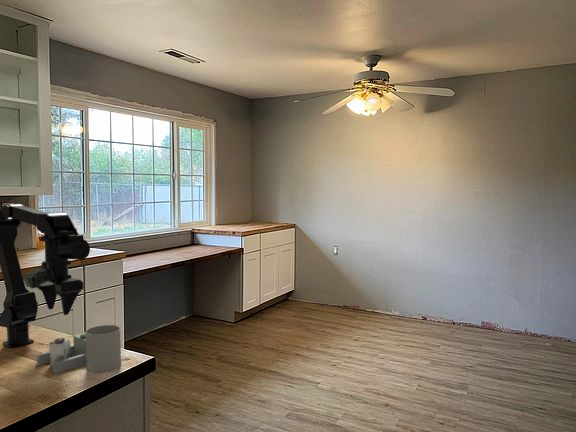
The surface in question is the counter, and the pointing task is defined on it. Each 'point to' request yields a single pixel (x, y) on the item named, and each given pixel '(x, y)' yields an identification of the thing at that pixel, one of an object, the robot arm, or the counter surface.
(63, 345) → the bottle
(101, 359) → the cup
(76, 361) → the grey u-shaped bracket
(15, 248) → the robot arm
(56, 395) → the counter surface
